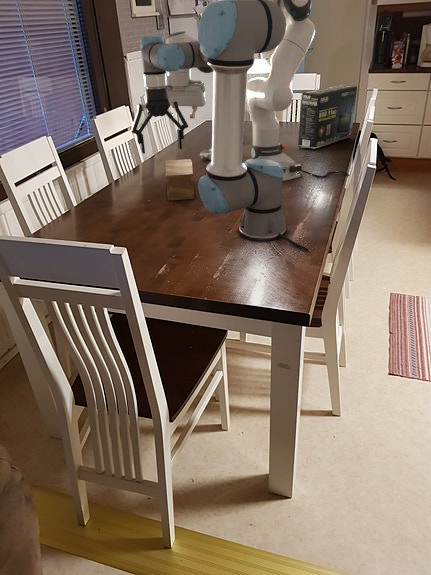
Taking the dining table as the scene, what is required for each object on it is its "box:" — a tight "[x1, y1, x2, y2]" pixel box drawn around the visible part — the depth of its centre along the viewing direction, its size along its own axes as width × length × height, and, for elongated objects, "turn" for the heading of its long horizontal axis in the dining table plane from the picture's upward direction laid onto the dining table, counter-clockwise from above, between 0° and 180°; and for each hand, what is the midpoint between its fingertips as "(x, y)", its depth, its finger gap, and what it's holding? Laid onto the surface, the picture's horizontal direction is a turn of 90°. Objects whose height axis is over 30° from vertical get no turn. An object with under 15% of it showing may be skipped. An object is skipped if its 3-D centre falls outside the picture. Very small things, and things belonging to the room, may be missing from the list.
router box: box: [297, 84, 358, 151], centre depth 238 cm, size 36×11×27 cm, turn 134°
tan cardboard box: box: [165, 158, 196, 201], centre depth 185 cm, size 21×10×10 cm, turn 5°
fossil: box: [199, 147, 212, 162], centre depth 226 cm, size 18×11×15 cm
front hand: (162, 150), depth 167 cm, fingers open, 13 cm apart
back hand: (181, 117), depth 183 cm, fingers open, 8 cm apart
